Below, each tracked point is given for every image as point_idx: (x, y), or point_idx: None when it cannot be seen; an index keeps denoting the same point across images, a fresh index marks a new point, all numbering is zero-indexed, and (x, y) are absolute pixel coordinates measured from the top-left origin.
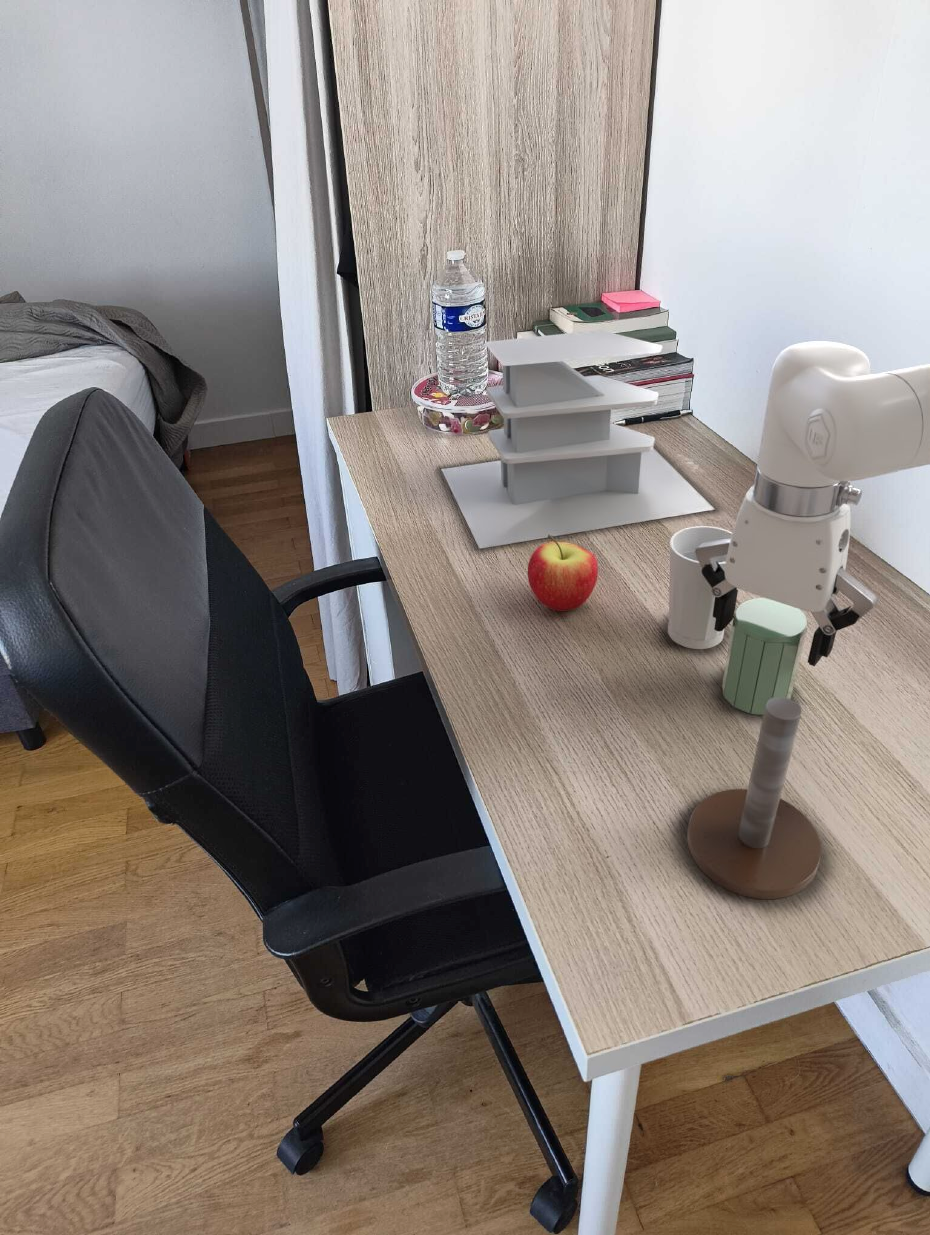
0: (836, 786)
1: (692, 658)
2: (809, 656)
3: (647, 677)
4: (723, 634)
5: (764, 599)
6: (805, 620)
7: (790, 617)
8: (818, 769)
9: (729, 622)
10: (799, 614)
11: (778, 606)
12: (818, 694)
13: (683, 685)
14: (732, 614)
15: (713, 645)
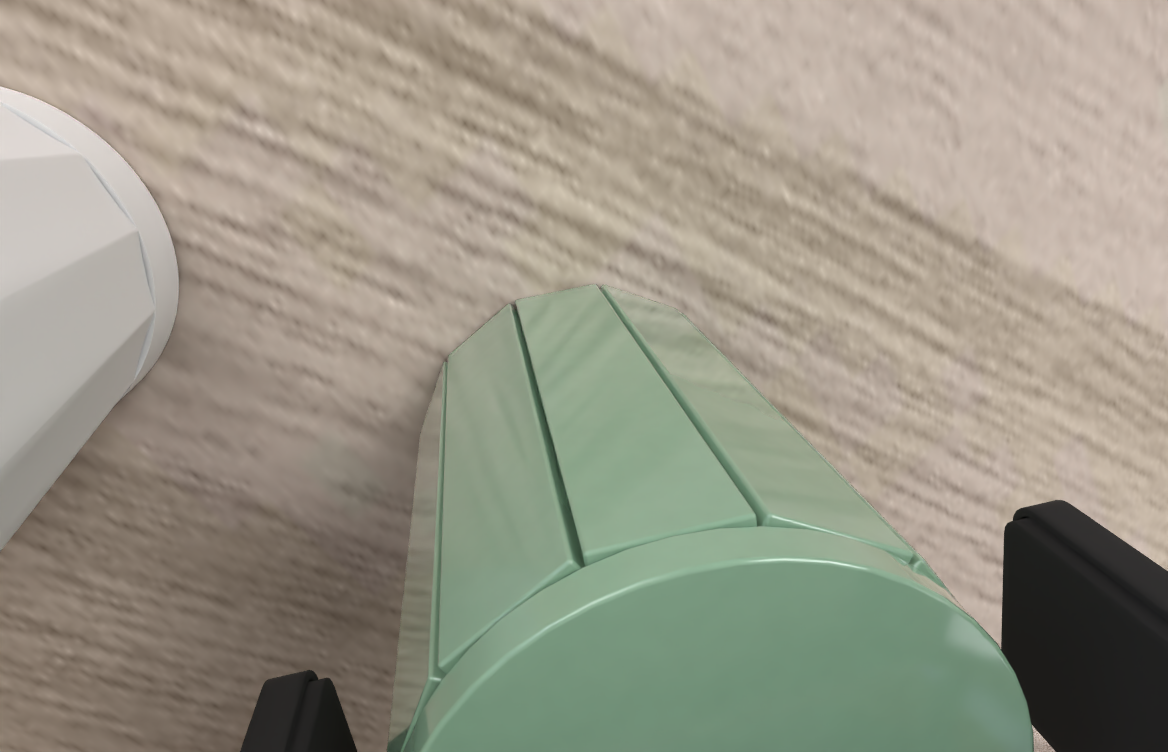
0: None
1: (186, 459)
2: (1046, 733)
3: (166, 706)
4: (136, 192)
5: (508, 693)
6: (996, 671)
7: (867, 732)
8: (975, 597)
9: (348, 732)
10: (916, 644)
11: (689, 683)
12: (804, 229)
13: (318, 630)
14: (327, 745)
15: (175, 304)
